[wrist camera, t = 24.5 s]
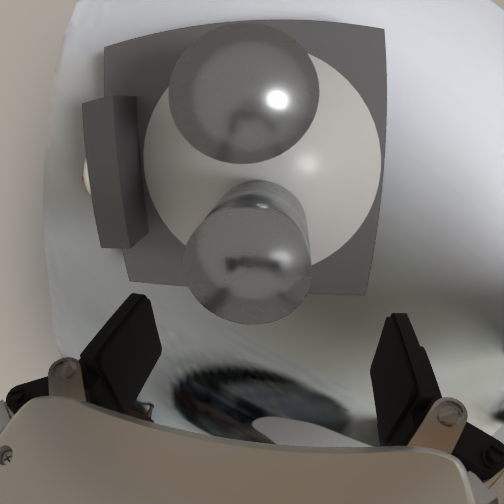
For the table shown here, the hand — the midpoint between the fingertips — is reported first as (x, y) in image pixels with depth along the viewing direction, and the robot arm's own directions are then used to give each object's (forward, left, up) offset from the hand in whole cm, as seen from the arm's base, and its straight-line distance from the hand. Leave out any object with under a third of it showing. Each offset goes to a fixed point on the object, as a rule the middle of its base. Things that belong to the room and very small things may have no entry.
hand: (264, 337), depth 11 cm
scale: (+3, -5, -13) cm, 14 cm away
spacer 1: (+1, -9, -9) cm, 13 cm away
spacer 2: (+1, -1, -9) cm, 9 cm away
